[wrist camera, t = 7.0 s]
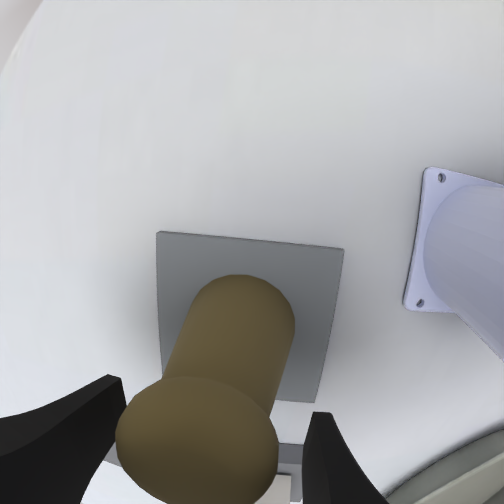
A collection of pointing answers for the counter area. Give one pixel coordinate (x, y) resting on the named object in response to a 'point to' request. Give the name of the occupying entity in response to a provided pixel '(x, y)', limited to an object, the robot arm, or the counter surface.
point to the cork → (213, 400)
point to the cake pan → (460, 477)
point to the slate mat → (264, 267)
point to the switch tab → (277, 491)
